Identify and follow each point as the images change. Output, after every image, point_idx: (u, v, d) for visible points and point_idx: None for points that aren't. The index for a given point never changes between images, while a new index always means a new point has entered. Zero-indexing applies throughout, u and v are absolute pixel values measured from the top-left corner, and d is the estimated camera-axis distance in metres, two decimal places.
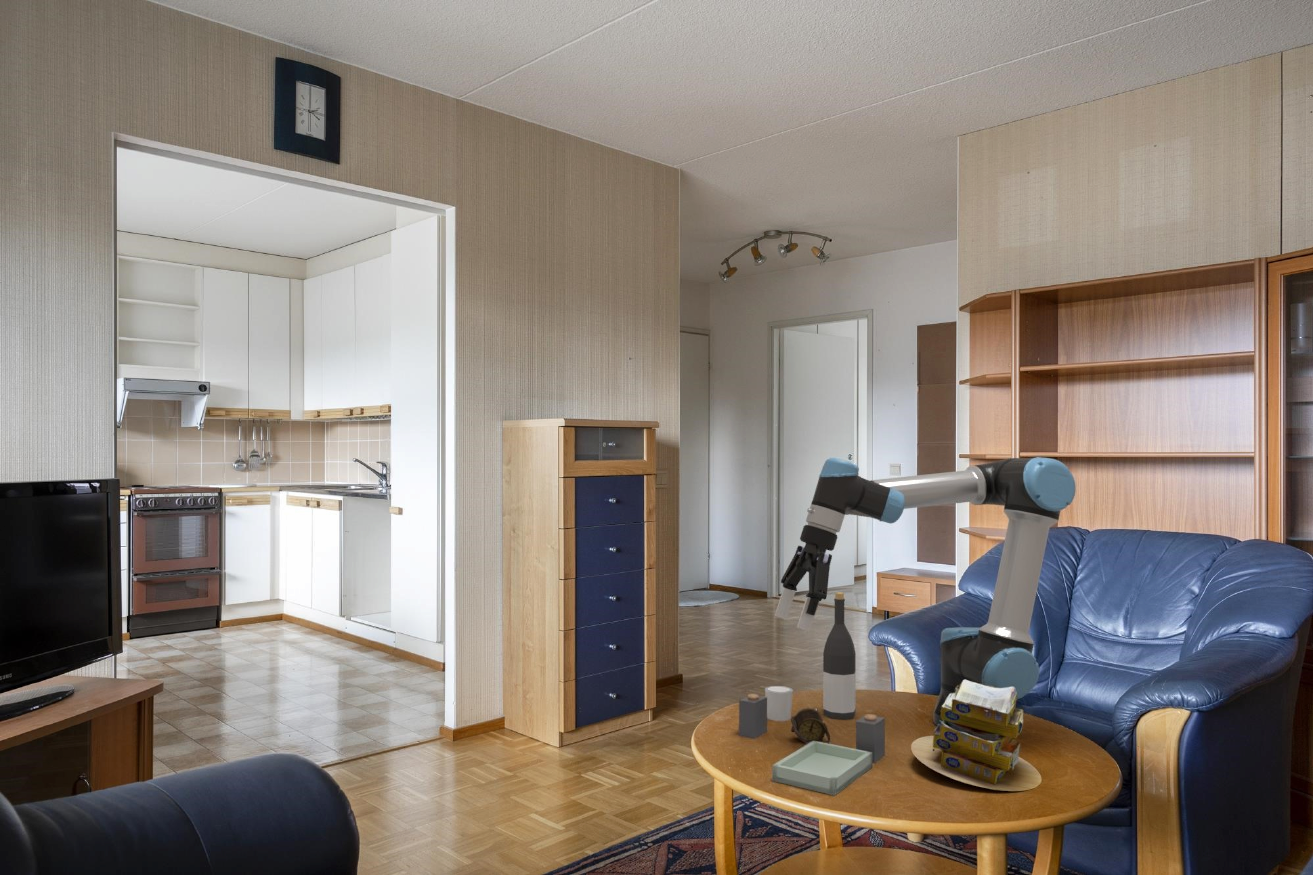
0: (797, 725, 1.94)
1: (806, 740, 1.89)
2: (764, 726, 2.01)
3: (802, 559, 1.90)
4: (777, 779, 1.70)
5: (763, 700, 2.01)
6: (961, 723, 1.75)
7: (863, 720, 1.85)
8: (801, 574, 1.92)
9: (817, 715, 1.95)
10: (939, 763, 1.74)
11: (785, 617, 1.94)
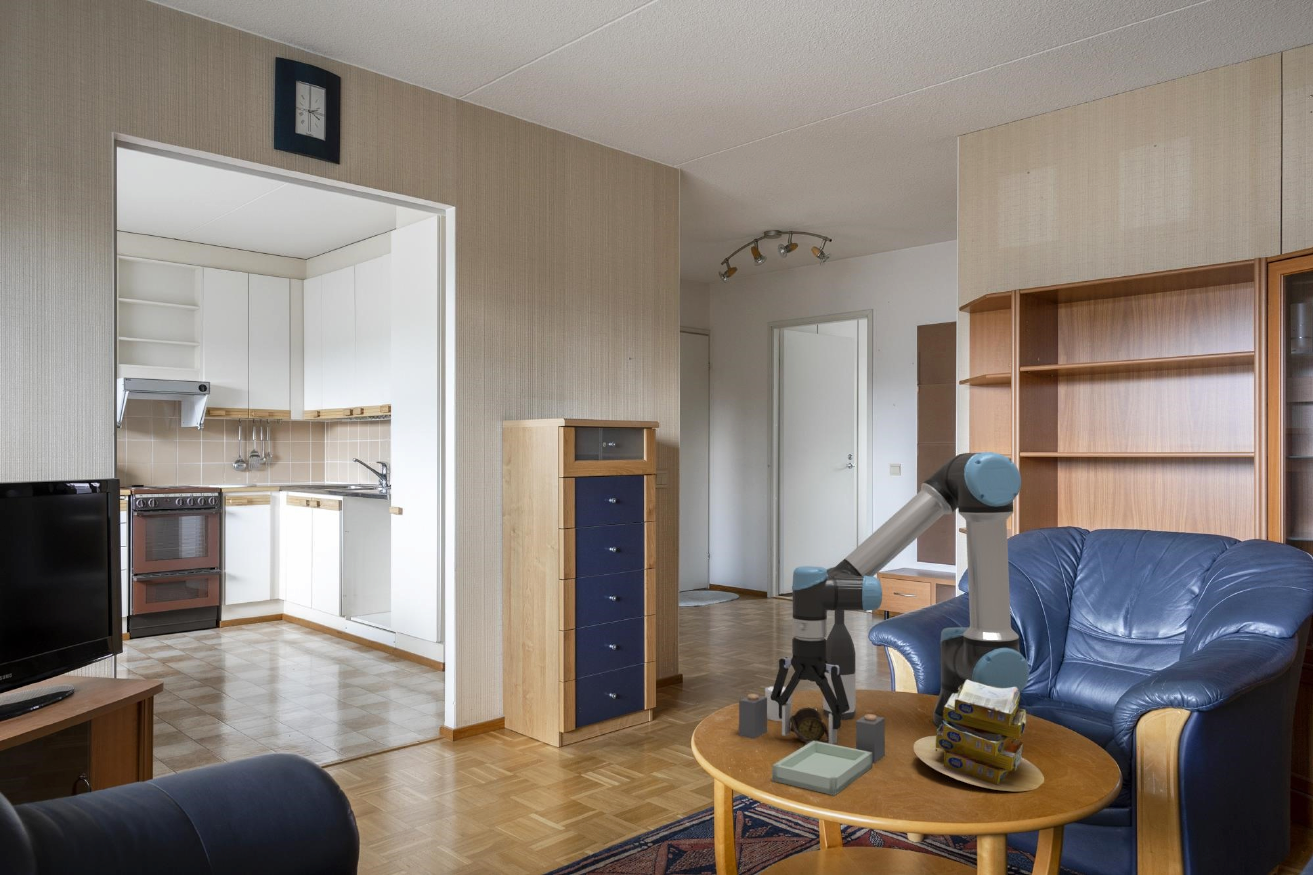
0: (797, 724, 1.94)
1: (806, 739, 1.89)
2: (764, 725, 2.01)
3: (801, 672, 1.93)
4: (777, 779, 1.70)
5: (763, 700, 2.01)
6: (963, 723, 1.74)
7: (863, 720, 1.85)
8: (796, 685, 1.96)
9: (816, 714, 1.95)
10: (942, 763, 1.74)
11: (789, 731, 1.97)
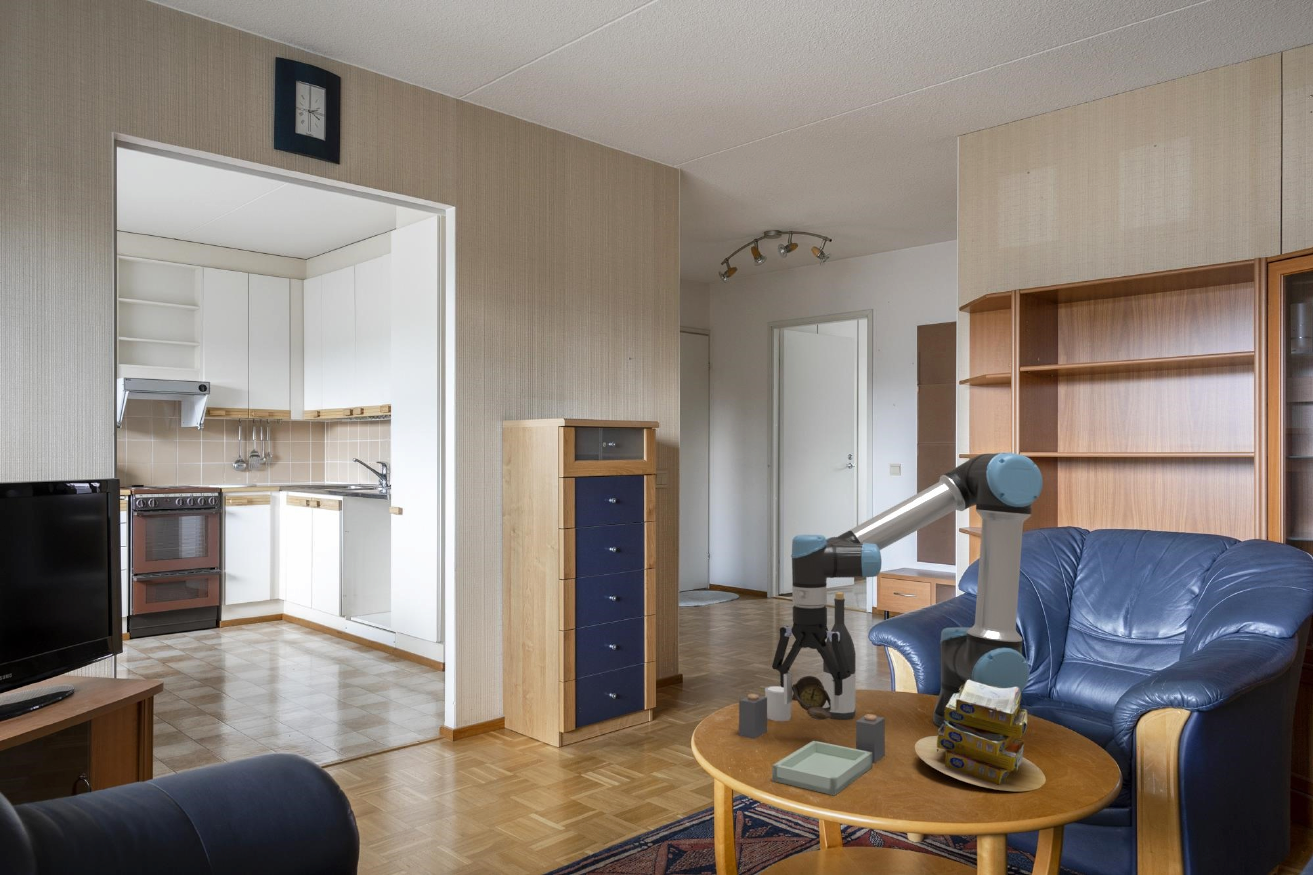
0: (798, 692, 1.94)
1: (808, 706, 1.89)
2: (764, 726, 2.01)
3: (802, 640, 1.93)
4: (777, 779, 1.70)
5: (763, 700, 2.01)
6: (965, 723, 1.74)
7: (863, 720, 1.85)
8: (797, 653, 1.96)
9: (818, 682, 1.96)
10: (943, 763, 1.74)
11: (791, 699, 1.97)
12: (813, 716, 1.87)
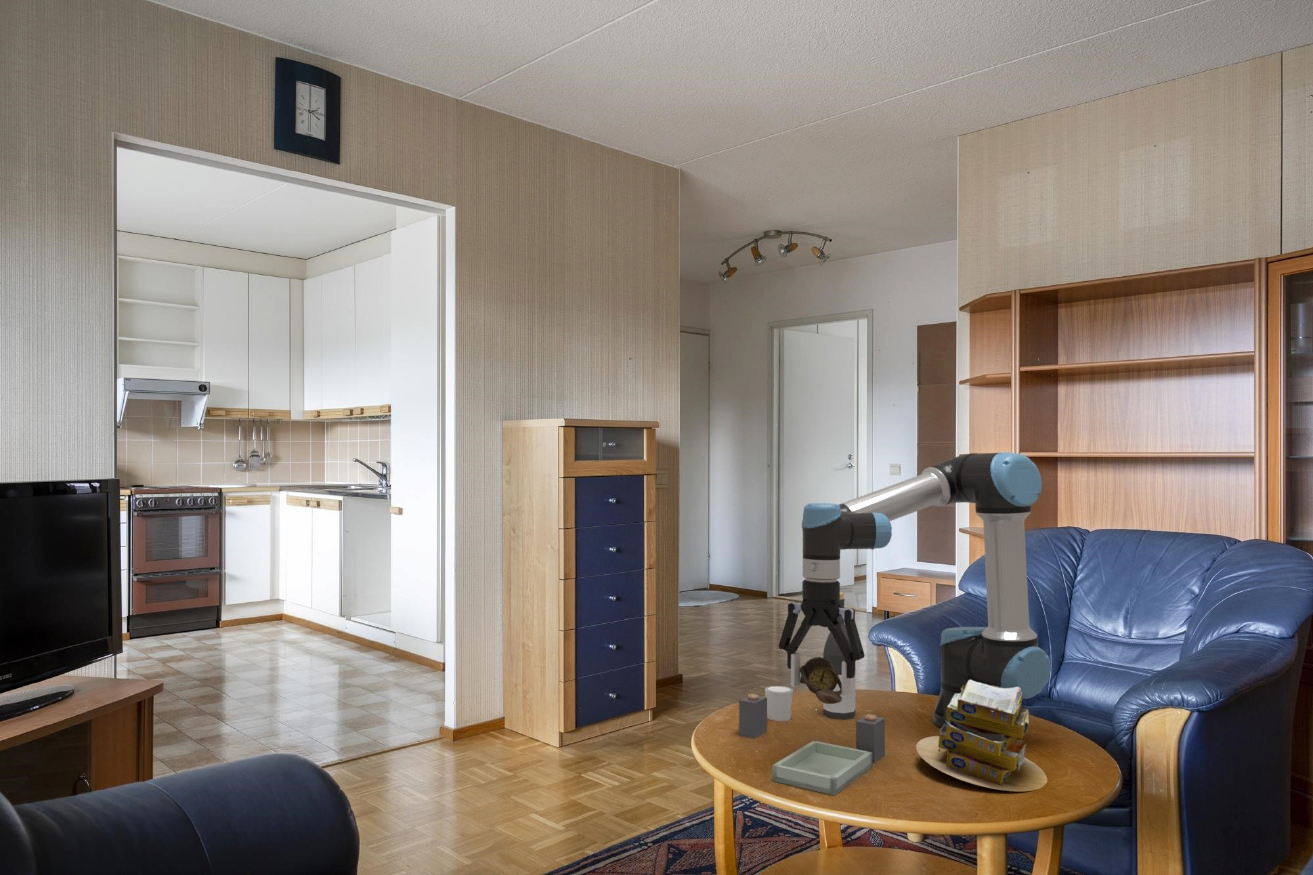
0: (807, 674, 1.78)
1: (817, 689, 1.73)
2: (764, 726, 2.01)
3: (811, 617, 1.77)
4: (777, 779, 1.70)
5: (763, 700, 2.01)
6: (966, 723, 1.74)
7: (863, 720, 1.85)
8: (806, 632, 1.80)
9: (828, 664, 1.79)
10: (945, 763, 1.74)
11: (799, 682, 1.81)
12: (822, 699, 1.71)
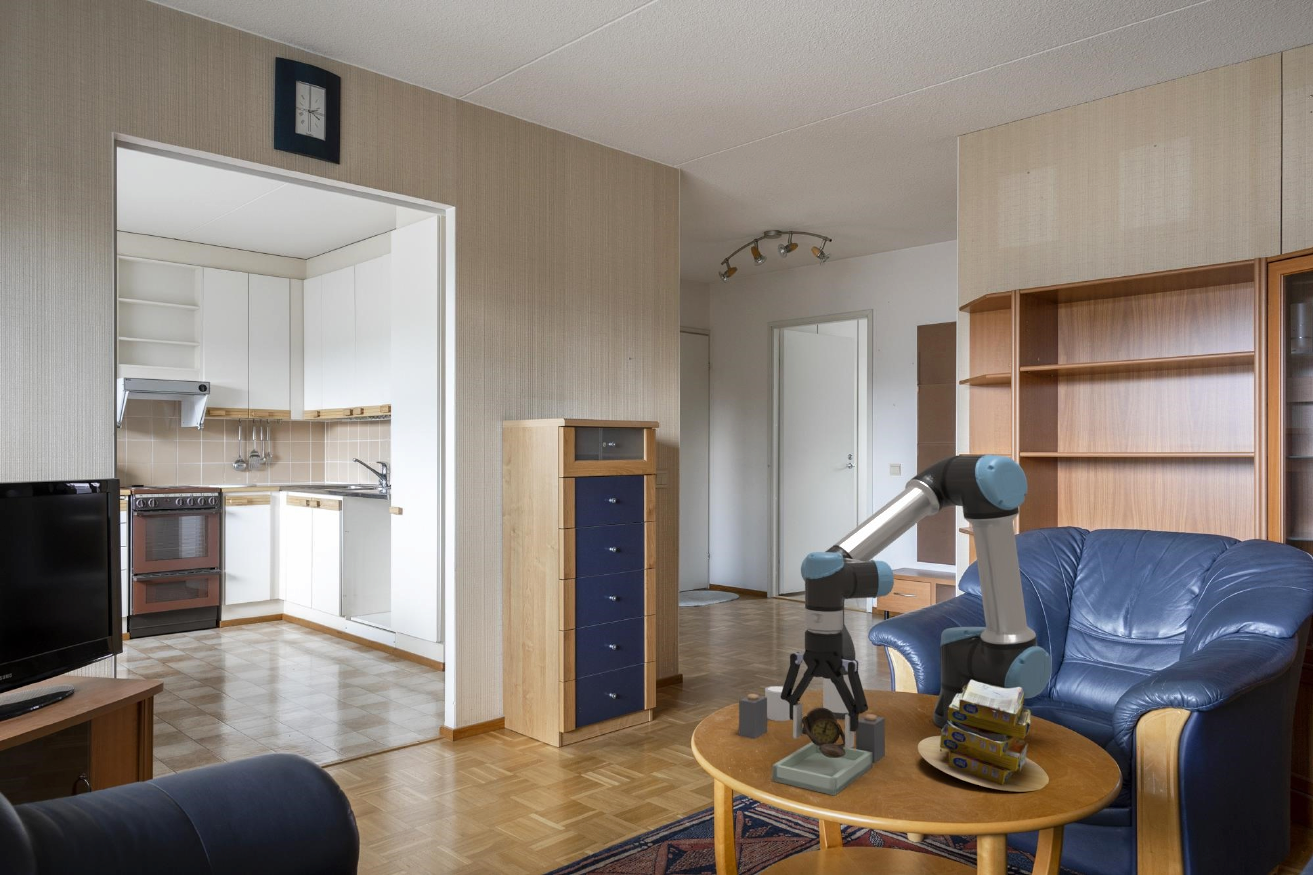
0: (809, 726, 1.76)
1: (820, 743, 1.71)
2: (764, 725, 2.01)
3: (814, 668, 1.75)
4: (777, 779, 1.70)
5: (763, 700, 2.01)
6: (968, 723, 1.74)
7: (863, 720, 1.85)
8: (808, 683, 1.78)
9: (831, 715, 1.77)
10: (946, 763, 1.74)
11: (801, 733, 1.79)
12: (826, 754, 1.69)
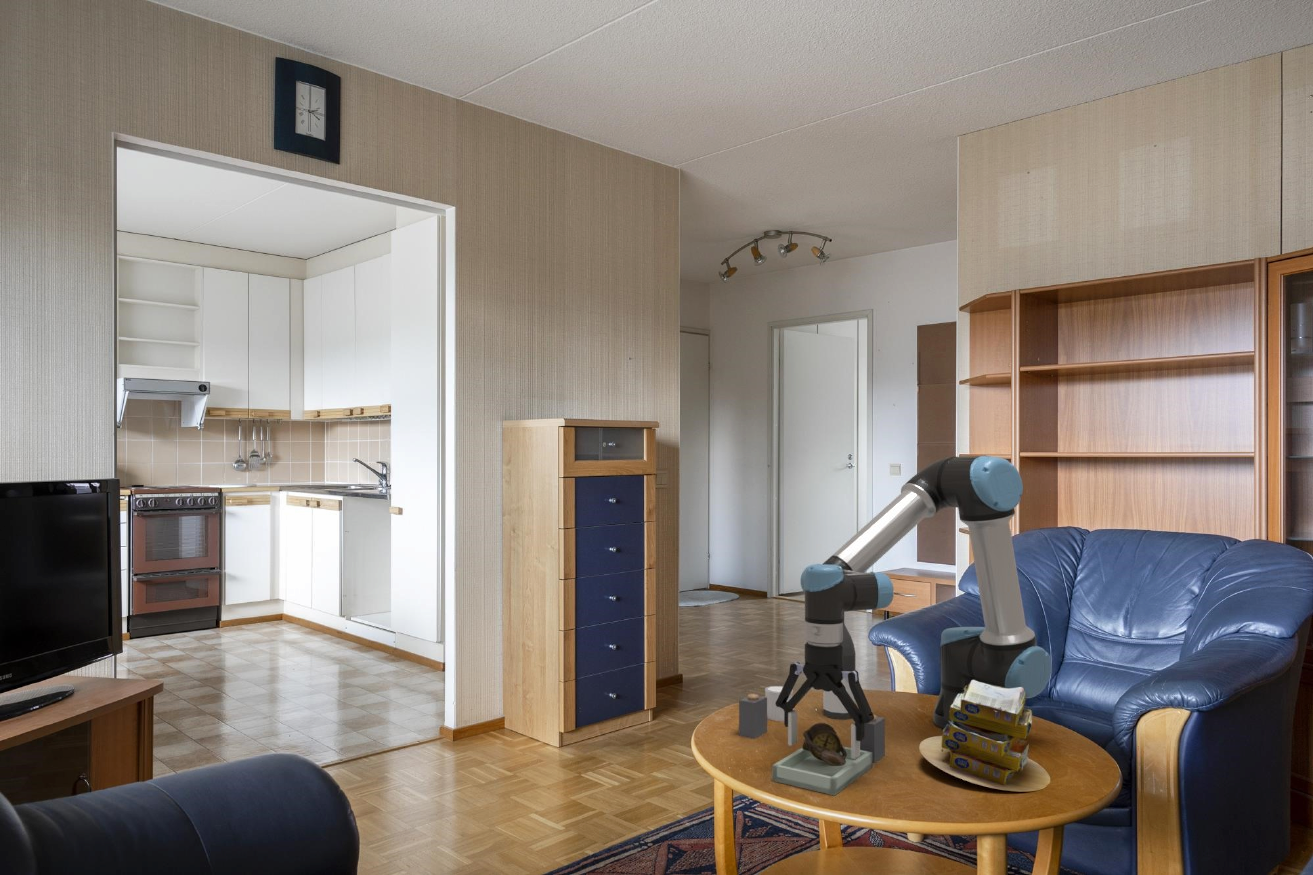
0: (811, 737, 1.77)
1: (821, 750, 1.72)
2: (764, 725, 2.01)
3: (813, 681, 1.75)
4: (777, 779, 1.70)
5: (763, 700, 2.01)
6: (970, 723, 1.74)
7: None
8: (805, 693, 1.78)
9: (833, 730, 1.78)
10: (948, 763, 1.74)
11: (796, 740, 1.80)
12: (826, 760, 1.69)
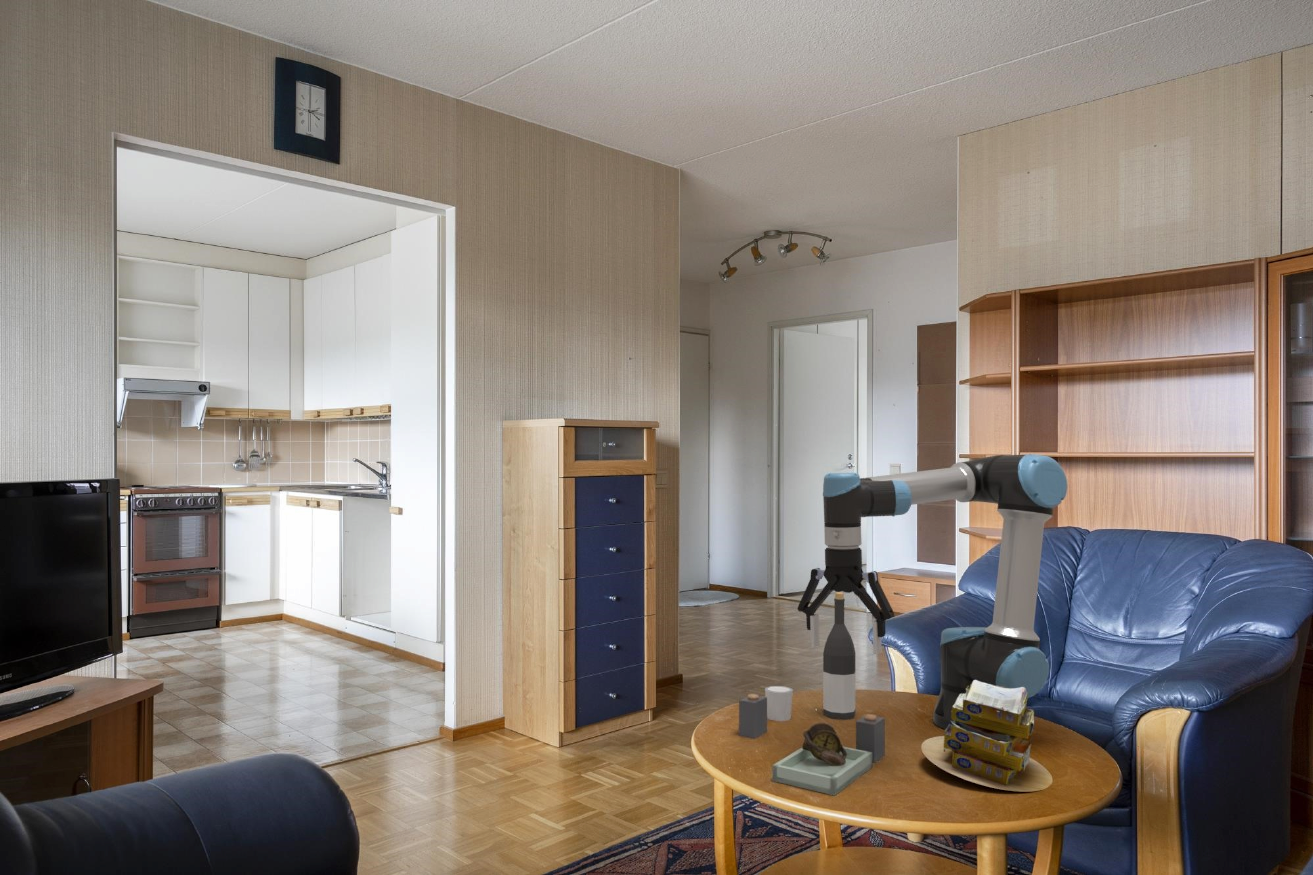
0: (811, 737, 1.77)
1: (821, 750, 1.72)
2: (764, 725, 2.01)
3: (834, 583, 1.82)
4: (777, 779, 1.70)
5: (763, 700, 2.01)
6: (972, 723, 1.74)
7: (863, 720, 1.85)
8: (826, 596, 1.85)
9: (833, 730, 1.78)
10: (950, 764, 1.74)
11: (818, 643, 1.87)
12: (826, 760, 1.69)
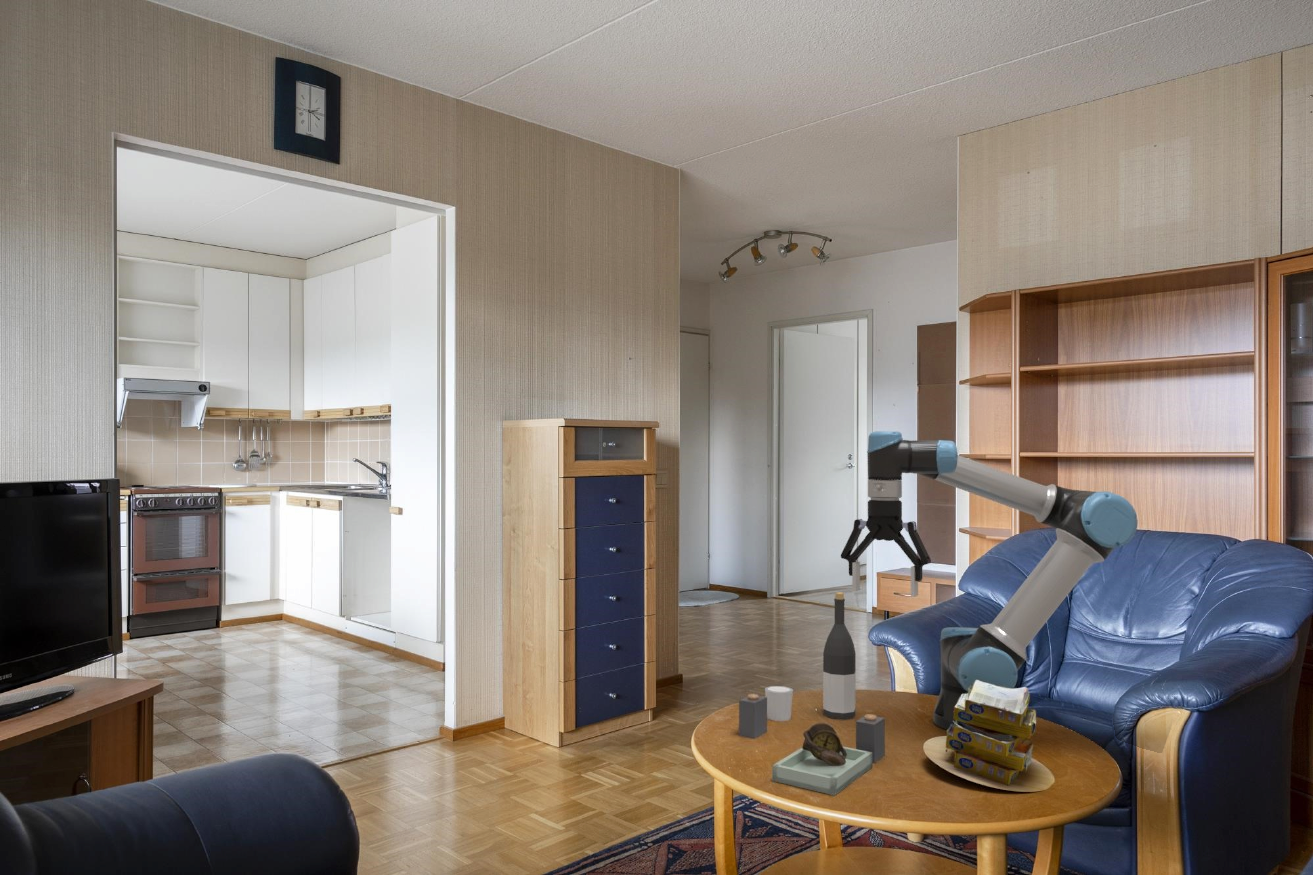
0: (811, 737, 1.77)
1: (821, 750, 1.72)
2: (764, 725, 2.01)
3: (876, 532, 1.99)
4: (777, 779, 1.70)
5: (763, 700, 2.01)
6: (974, 724, 1.74)
7: (863, 720, 1.85)
8: (868, 545, 2.02)
9: (833, 730, 1.78)
10: (952, 764, 1.74)
11: (859, 588, 2.03)
12: (826, 760, 1.69)
